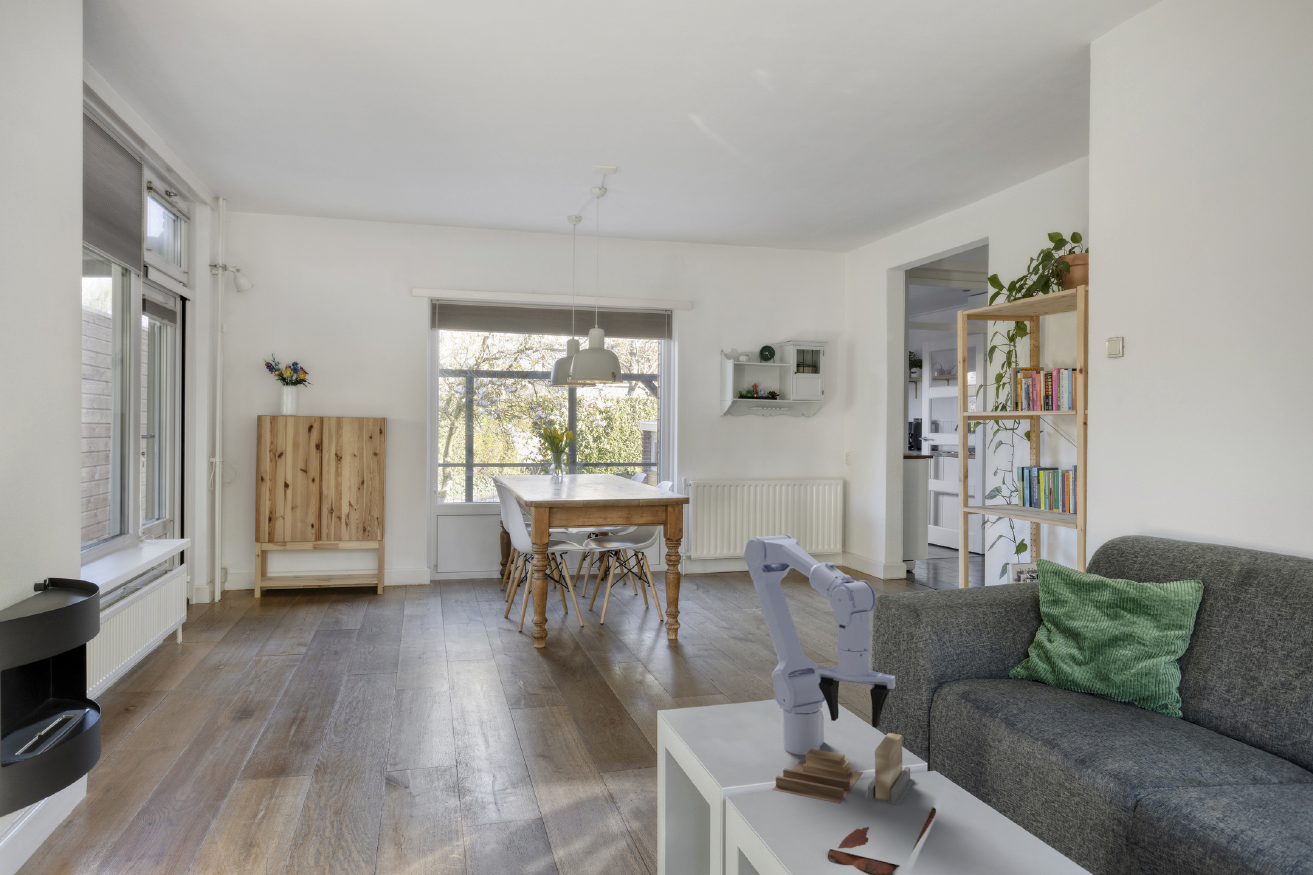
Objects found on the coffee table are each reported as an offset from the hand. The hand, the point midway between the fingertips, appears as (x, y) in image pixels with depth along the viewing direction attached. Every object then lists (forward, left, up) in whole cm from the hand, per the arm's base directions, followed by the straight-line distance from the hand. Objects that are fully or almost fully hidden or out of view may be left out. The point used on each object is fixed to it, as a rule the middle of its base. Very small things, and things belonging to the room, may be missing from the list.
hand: (855, 722), depth 147 cm
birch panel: (+4, +7, -9) cm, 12 cm away
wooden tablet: (+18, +10, -11) cm, 24 cm away
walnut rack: (+6, -5, -10) cm, 13 cm away
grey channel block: (+3, +7, -10) cm, 13 cm away
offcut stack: (+1, -5, -9) cm, 11 cm away
